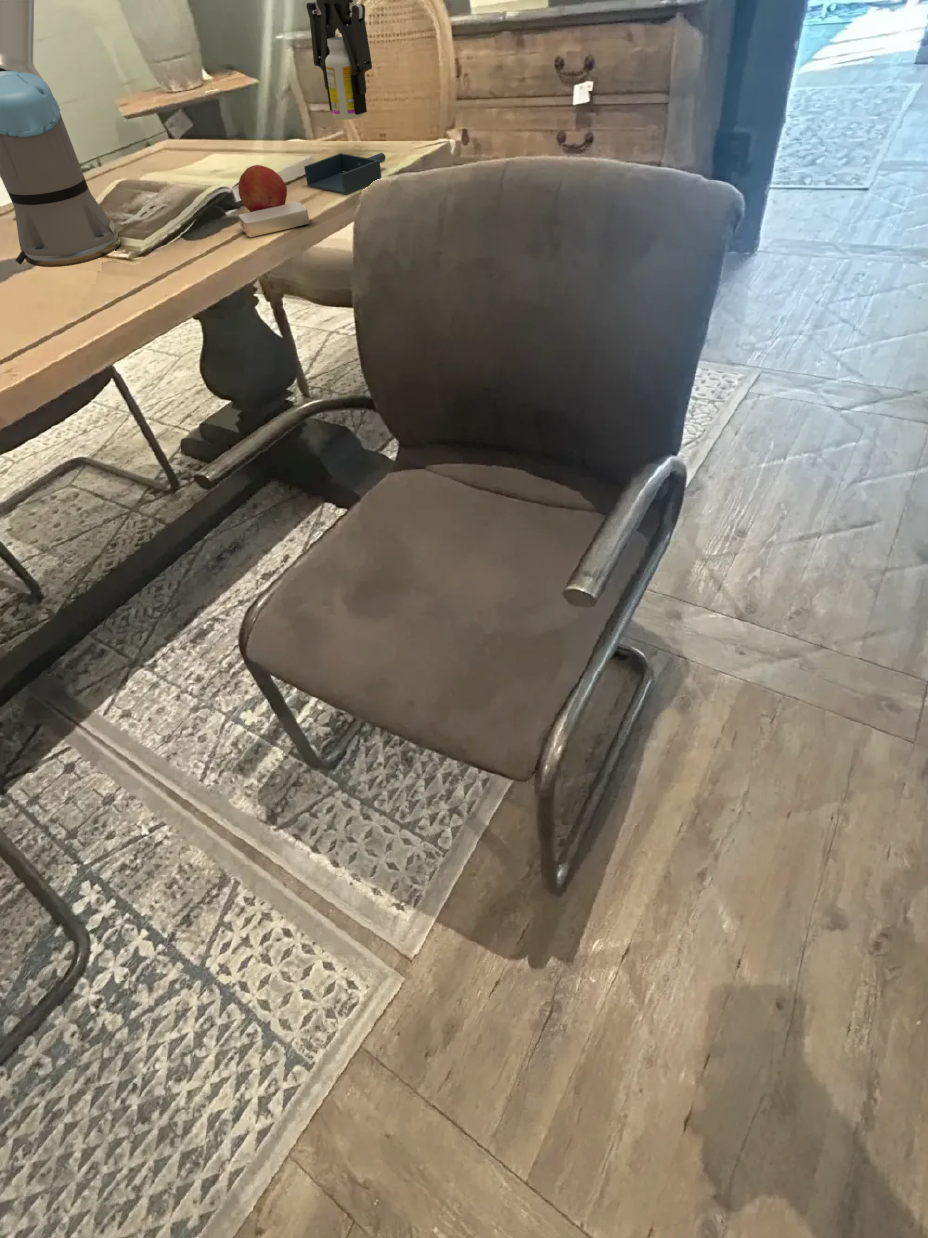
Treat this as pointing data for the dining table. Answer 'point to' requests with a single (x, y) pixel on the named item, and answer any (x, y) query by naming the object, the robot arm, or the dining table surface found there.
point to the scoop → (334, 178)
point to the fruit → (261, 188)
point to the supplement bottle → (340, 80)
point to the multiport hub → (274, 219)
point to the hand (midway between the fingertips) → (348, 110)
